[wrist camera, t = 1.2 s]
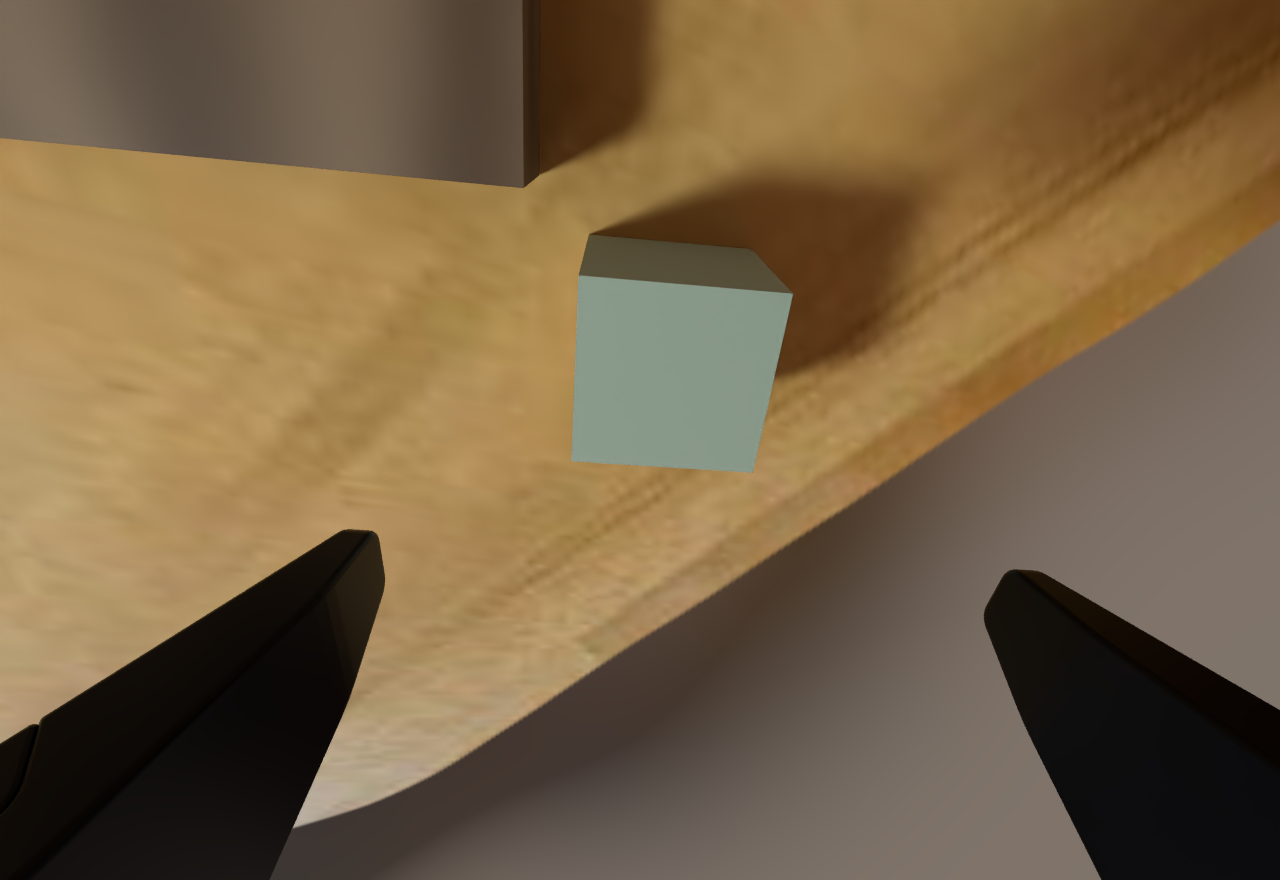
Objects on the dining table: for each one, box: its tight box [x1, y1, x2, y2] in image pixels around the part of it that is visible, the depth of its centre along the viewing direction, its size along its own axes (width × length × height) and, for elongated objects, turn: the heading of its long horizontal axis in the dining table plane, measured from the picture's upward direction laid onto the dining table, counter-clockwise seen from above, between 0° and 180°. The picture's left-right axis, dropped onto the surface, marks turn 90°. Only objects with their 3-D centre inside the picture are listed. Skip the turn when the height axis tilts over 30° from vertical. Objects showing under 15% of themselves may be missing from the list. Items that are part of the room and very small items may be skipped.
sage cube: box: [571, 234, 793, 473], centre depth 17 cm, size 5×5×5 cm
